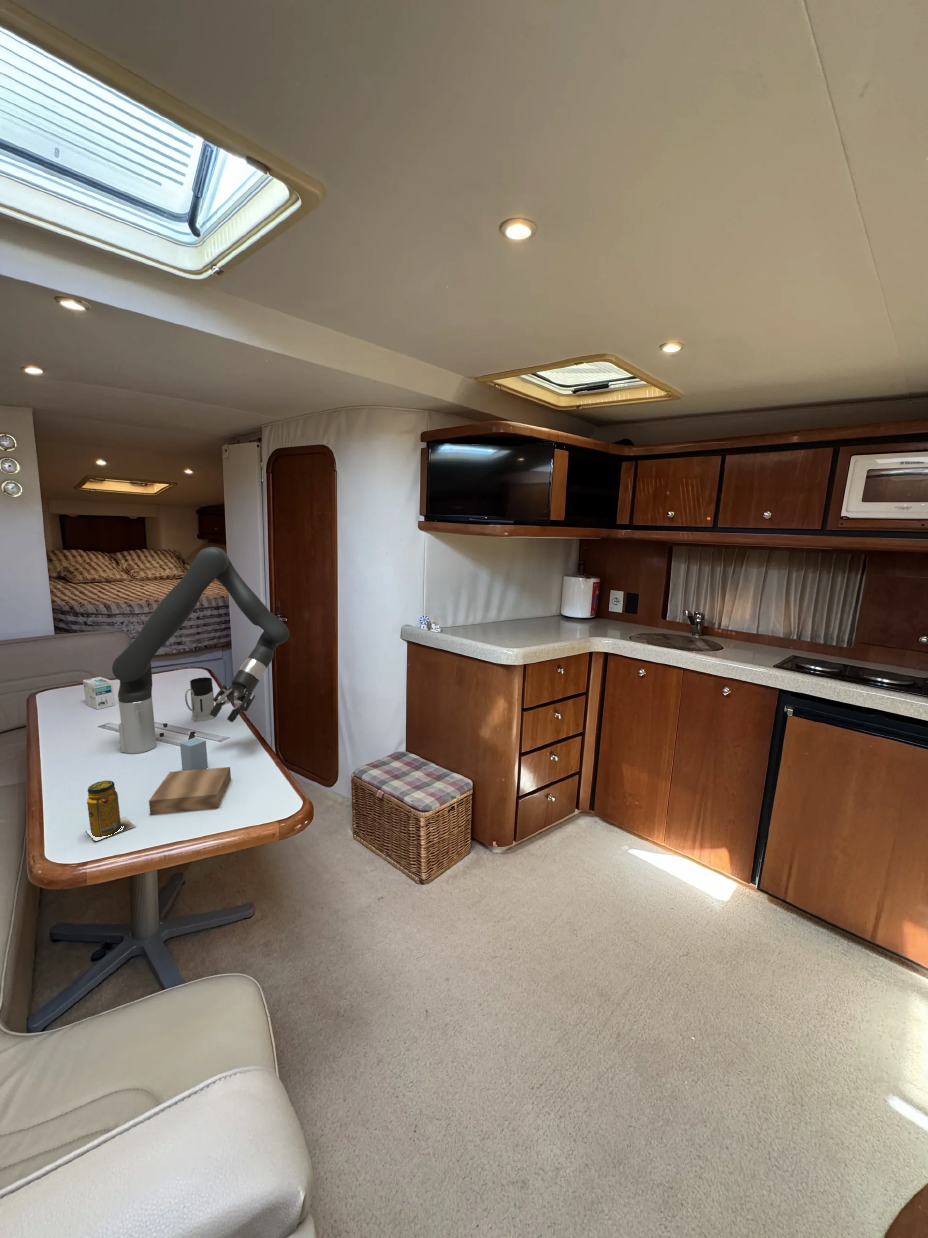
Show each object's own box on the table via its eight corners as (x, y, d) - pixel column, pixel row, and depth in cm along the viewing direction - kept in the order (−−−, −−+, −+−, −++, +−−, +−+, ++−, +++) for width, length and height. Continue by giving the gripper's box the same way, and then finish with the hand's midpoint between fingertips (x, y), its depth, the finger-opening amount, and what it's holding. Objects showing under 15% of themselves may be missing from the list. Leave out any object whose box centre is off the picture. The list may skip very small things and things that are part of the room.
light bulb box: (115, 705, 210) (112, 680, 209) (97, 710, 205) (94, 684, 203) (103, 700, 216) (100, 676, 214) (85, 705, 210) (81, 679, 209)
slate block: (192, 775, 153) (190, 746, 151) (182, 771, 155) (179, 743, 153) (207, 768, 157) (205, 740, 155) (197, 764, 159) (195, 737, 158)
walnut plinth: (150, 815, 131) (148, 800, 130) (171, 785, 146) (169, 771, 146) (217, 808, 134) (216, 794, 134) (231, 779, 150) (230, 767, 149)
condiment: (85, 831, 124) (79, 785, 122) (125, 816, 130) (120, 773, 128) (94, 843, 119) (88, 795, 117) (135, 827, 126) (130, 782, 123)
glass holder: (221, 713, 202) (218, 677, 200) (199, 727, 189) (196, 688, 186) (200, 712, 203) (197, 676, 201) (176, 726, 189) (173, 687, 187)
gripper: (227, 666, 171) (198, 708, 163) (256, 672, 164) (227, 717, 156) (242, 677, 176) (214, 719, 168) (271, 683, 169) (243, 728, 161)
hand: (220, 718), depth 162 cm, fingers open, 8 cm apart
